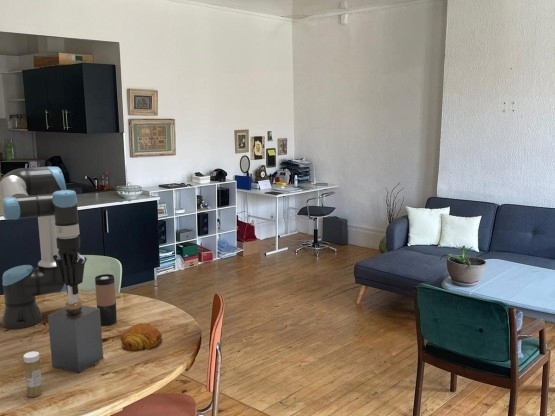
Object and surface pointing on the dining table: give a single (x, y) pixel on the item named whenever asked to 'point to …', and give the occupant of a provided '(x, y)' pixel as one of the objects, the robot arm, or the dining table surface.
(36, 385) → the sprinkles bottle
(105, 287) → the travel mug
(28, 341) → the dining table surface
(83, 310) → the grey peg holder block
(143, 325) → the croissant
